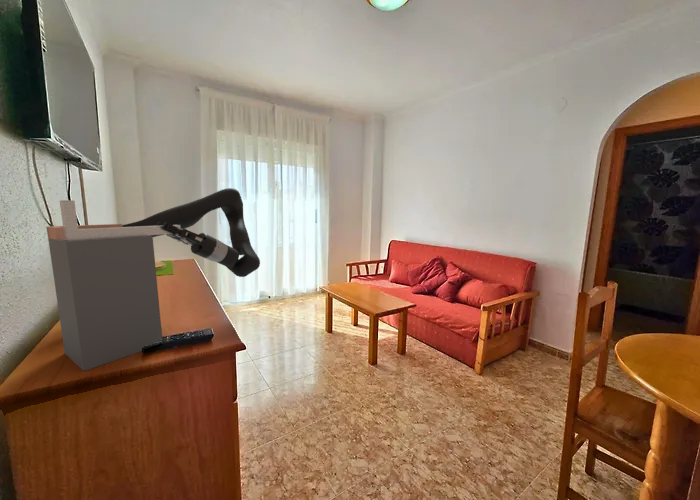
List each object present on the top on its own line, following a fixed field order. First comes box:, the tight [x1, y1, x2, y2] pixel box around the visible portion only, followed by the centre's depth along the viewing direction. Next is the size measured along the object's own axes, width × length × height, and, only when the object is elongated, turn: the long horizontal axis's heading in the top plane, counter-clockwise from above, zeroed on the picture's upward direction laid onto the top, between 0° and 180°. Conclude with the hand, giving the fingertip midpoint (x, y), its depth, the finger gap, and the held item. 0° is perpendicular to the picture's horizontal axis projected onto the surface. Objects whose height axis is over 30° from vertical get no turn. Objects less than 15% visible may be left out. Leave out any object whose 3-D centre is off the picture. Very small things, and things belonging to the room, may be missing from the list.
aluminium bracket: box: [59, 199, 181, 241], centre depth 81 cm, size 3×26×10 cm, turn 146°
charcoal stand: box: [46, 223, 163, 372], centre depth 82 cm, size 16×18×35 cm
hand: (160, 225), depth 88 cm, fingers open, 3 cm apart
